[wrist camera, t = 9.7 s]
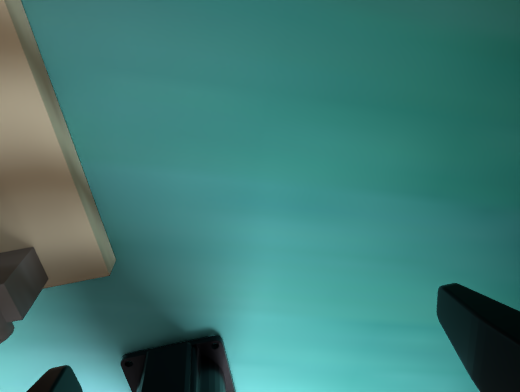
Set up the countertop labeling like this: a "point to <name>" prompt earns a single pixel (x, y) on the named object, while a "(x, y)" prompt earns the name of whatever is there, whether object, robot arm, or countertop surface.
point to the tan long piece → (39, 183)
